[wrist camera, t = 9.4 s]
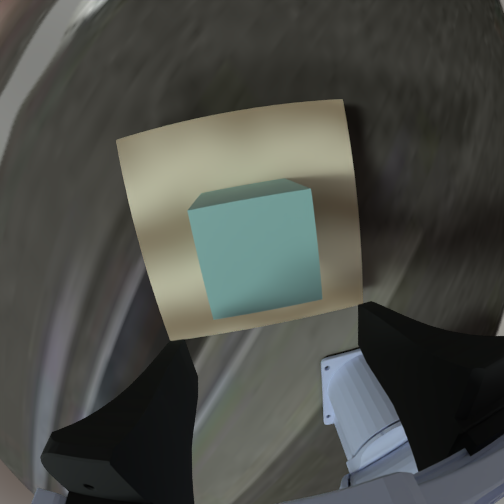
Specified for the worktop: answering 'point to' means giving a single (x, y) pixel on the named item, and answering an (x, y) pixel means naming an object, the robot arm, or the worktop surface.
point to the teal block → (257, 247)
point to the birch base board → (236, 174)
